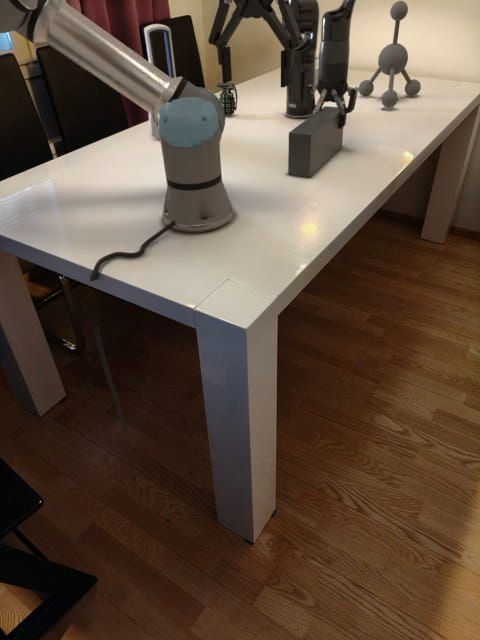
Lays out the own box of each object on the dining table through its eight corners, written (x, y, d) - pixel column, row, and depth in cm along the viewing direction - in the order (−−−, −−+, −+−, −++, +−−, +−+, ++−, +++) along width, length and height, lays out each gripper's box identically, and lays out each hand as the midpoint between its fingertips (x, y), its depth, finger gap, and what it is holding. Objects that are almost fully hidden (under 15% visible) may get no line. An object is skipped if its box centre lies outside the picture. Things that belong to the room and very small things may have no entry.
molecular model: (440, 102, 169) (459, -1, 151) (386, 111, 163) (400, 6, 145) (398, 88, 187) (412, -5, 168) (348, 96, 181) (356, 0, 162)
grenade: (217, 117, 168) (214, 86, 162) (221, 112, 172) (219, 82, 166) (235, 117, 166) (233, 86, 160) (239, 113, 171) (238, 82, 165)
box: (309, 177, 122) (311, 135, 116) (288, 174, 125) (288, 132, 118) (341, 146, 139) (345, 107, 133) (322, 144, 142) (324, 106, 135)
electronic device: (152, 140, 151) (135, 28, 133) (149, 133, 157) (132, 25, 139) (192, 134, 154) (180, 24, 135) (187, 128, 159) (175, 21, 141)
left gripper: (323, -46, 87) (317, 83, 100) (205, -40, 97) (213, 76, 110) (308, -43, 82) (303, 92, 95) (184, -38, 92) (196, 84, 105)
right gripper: (365, 57, 124) (359, 125, 134) (312, 55, 130) (310, 120, 140) (356, 63, 119) (350, 133, 129) (302, 60, 124) (300, 128, 135)
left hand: (255, 84), depth 103 cm, fingers open, 13 cm apart
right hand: (329, 126), depth 134 cm, fingers closed on box, 6 cm apart
